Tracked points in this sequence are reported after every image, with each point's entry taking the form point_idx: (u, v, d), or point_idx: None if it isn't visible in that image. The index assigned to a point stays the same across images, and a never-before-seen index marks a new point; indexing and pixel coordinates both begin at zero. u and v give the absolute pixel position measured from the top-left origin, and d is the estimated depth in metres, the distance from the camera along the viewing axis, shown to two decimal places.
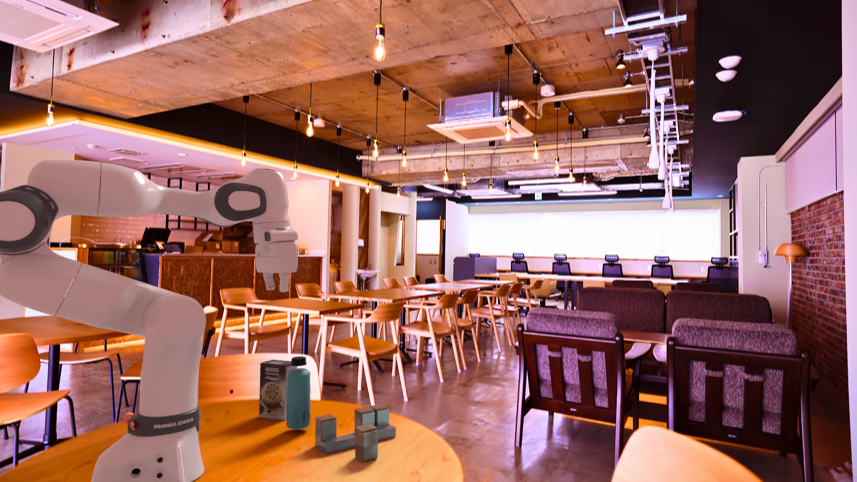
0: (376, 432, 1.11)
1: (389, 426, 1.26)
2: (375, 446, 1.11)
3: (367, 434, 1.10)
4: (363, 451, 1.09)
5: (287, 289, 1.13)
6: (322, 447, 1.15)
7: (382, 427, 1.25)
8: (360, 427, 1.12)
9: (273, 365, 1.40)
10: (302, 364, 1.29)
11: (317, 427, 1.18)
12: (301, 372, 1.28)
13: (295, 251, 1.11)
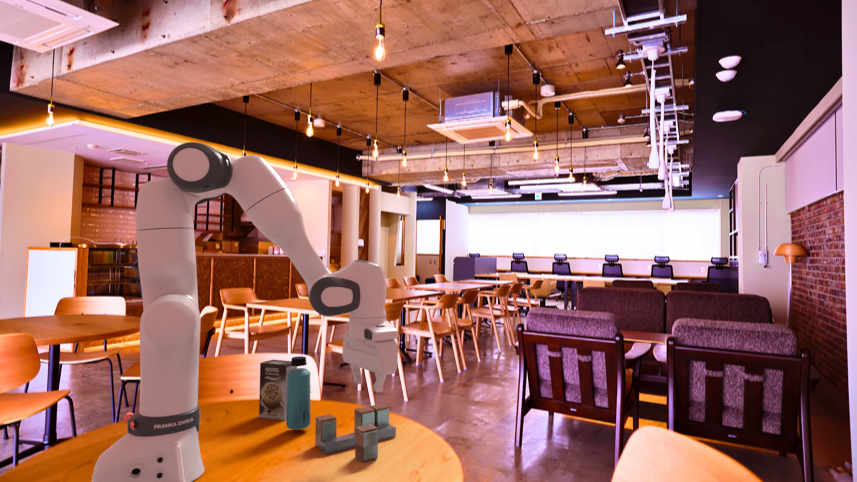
0: (376, 432, 1.11)
1: (389, 426, 1.26)
2: (375, 446, 1.11)
3: (367, 434, 1.10)
4: (363, 451, 1.09)
5: (382, 389, 1.08)
6: (322, 447, 1.15)
7: (382, 427, 1.25)
8: (360, 427, 1.12)
9: (273, 365, 1.40)
10: (302, 364, 1.29)
11: (317, 427, 1.18)
12: (301, 372, 1.28)
13: (396, 352, 1.06)
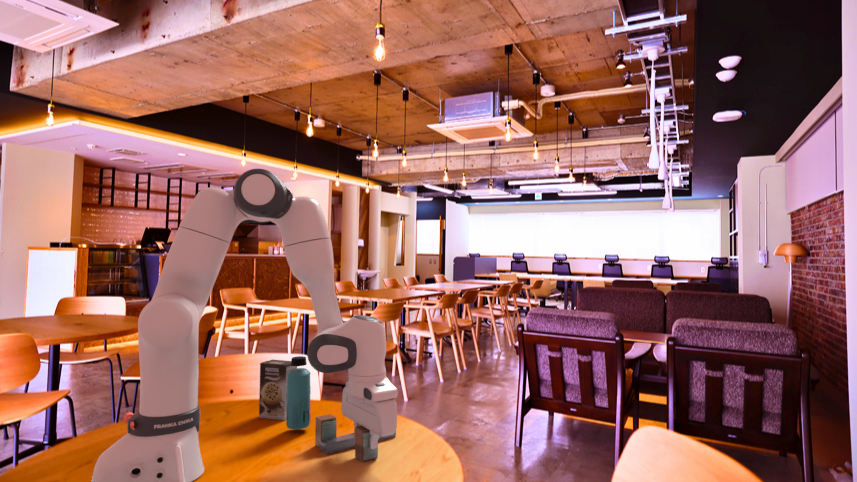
0: None
1: None
2: None
3: (367, 434, 1.10)
4: (363, 451, 1.09)
5: (376, 445, 1.09)
6: (322, 447, 1.15)
7: None
8: (360, 427, 1.12)
9: (273, 365, 1.40)
10: (302, 364, 1.29)
11: (317, 427, 1.18)
12: (301, 372, 1.28)
13: (395, 412, 1.05)
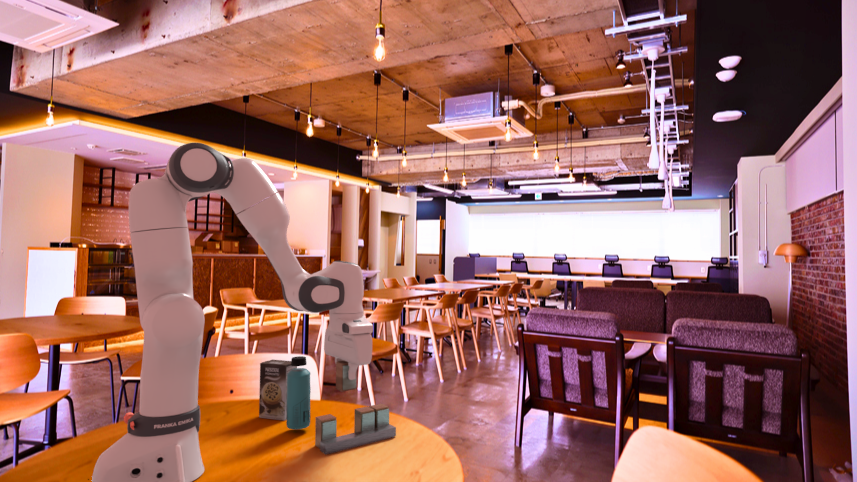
0: None
1: (389, 426, 1.26)
2: None
3: (346, 366, 1.21)
4: (343, 382, 1.21)
5: (354, 377, 1.21)
6: (322, 447, 1.15)
7: (382, 427, 1.25)
8: (340, 361, 1.23)
9: (273, 365, 1.40)
10: (302, 364, 1.29)
11: (317, 427, 1.18)
12: (301, 372, 1.28)
13: (370, 344, 1.17)
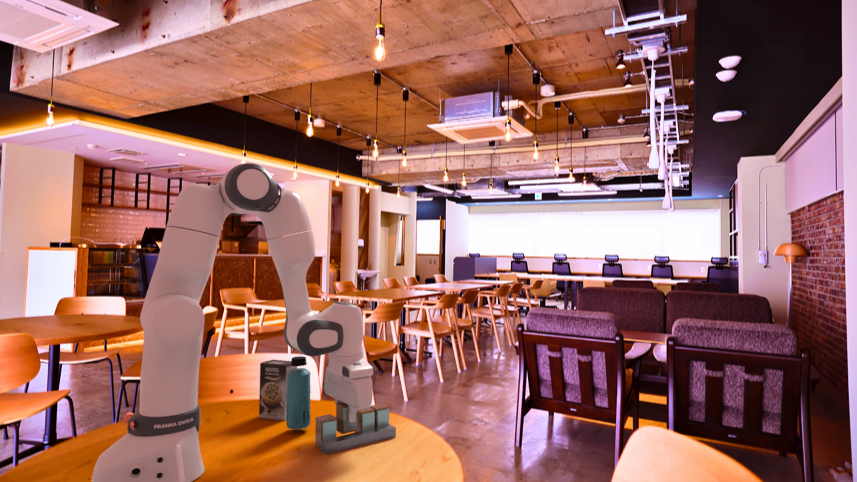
0: None
1: (389, 426, 1.26)
2: None
3: (346, 409, 1.21)
4: (343, 424, 1.20)
5: (354, 419, 1.20)
6: (322, 447, 1.15)
7: (382, 427, 1.25)
8: (340, 403, 1.23)
9: (273, 365, 1.40)
10: (302, 364, 1.29)
11: (317, 427, 1.18)
12: (301, 372, 1.28)
13: (370, 388, 1.16)
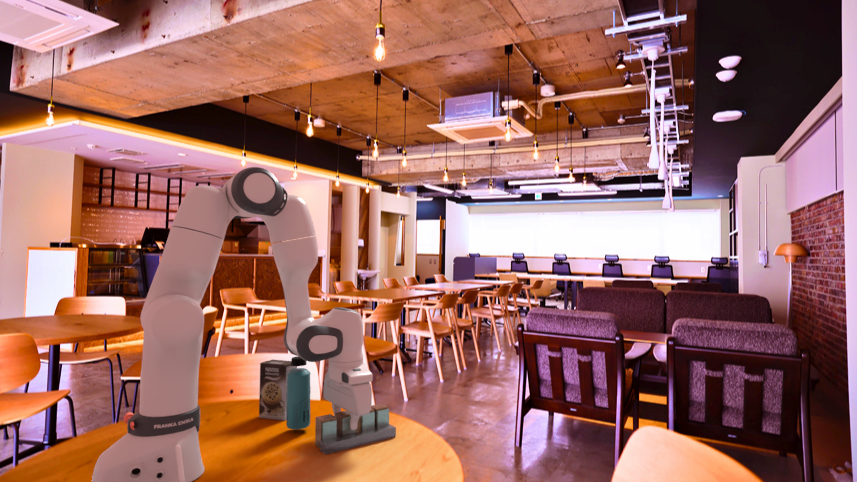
0: None
1: (389, 426, 1.26)
2: (353, 430, 1.21)
3: (345, 419, 1.20)
4: (342, 434, 1.20)
5: (356, 427, 1.19)
6: (322, 447, 1.15)
7: (382, 427, 1.25)
8: (339, 413, 1.23)
9: (273, 365, 1.40)
10: (302, 364, 1.29)
11: (317, 427, 1.18)
12: (301, 372, 1.28)
13: (370, 394, 1.16)
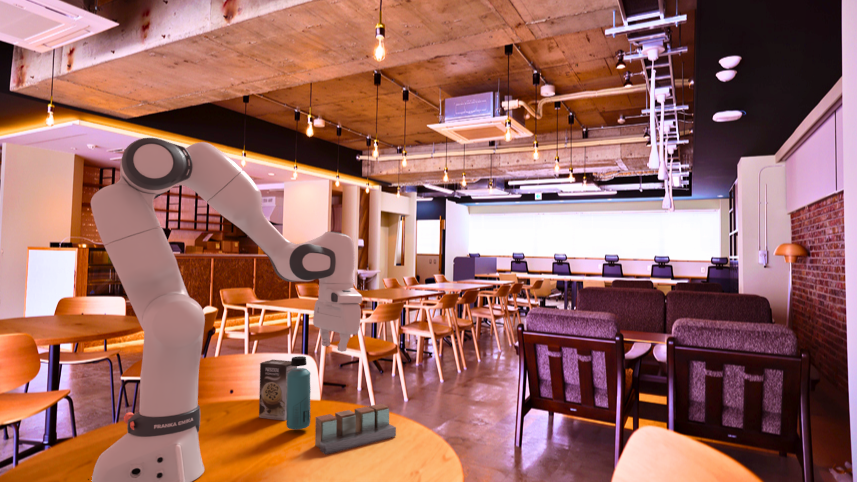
0: (354, 417, 1.22)
1: (389, 426, 1.26)
2: (353, 430, 1.21)
3: (345, 419, 1.20)
4: (342, 434, 1.20)
5: (345, 349, 1.19)
6: (322, 447, 1.15)
7: (382, 427, 1.25)
8: (339, 413, 1.23)
9: (273, 365, 1.40)
10: (302, 364, 1.29)
11: (317, 427, 1.18)
12: (301, 372, 1.28)
13: (358, 314, 1.17)
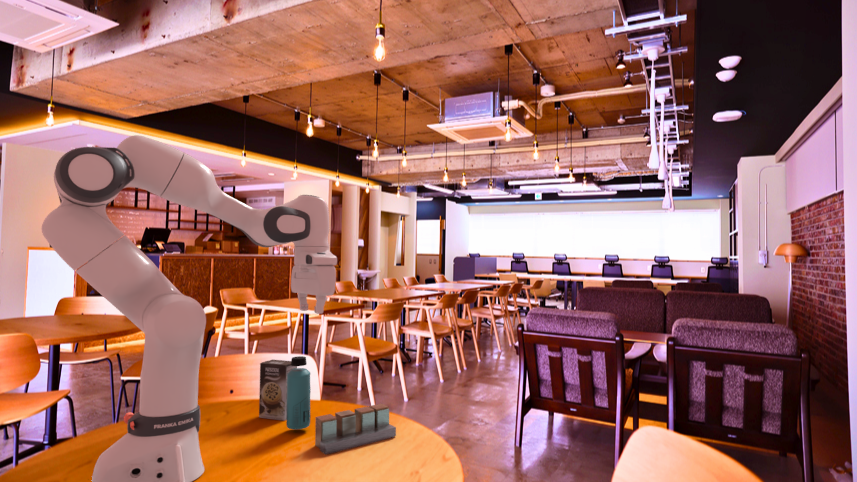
0: (354, 417, 1.22)
1: (389, 426, 1.26)
2: (353, 430, 1.21)
3: (345, 419, 1.20)
4: (342, 434, 1.20)
5: (322, 311, 1.18)
6: (322, 447, 1.15)
7: (382, 427, 1.25)
8: (339, 413, 1.23)
9: (273, 365, 1.40)
10: (302, 364, 1.29)
11: (317, 427, 1.18)
12: (301, 372, 1.28)
13: (334, 275, 1.16)
